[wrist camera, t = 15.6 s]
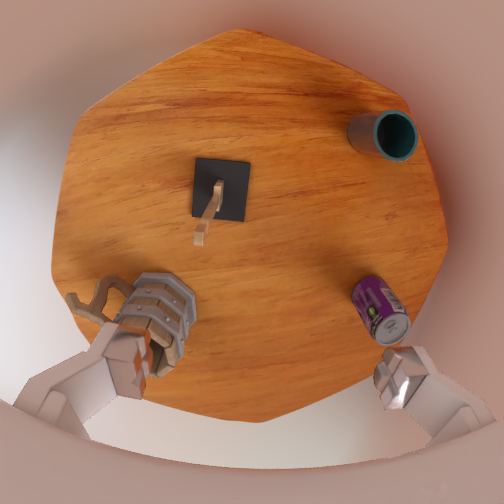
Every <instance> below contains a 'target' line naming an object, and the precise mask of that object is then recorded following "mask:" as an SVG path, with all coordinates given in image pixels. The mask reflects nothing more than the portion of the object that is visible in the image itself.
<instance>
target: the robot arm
mask: <svg viewBox="0 0 504 504" xmlns="http://www.w3.org/2000/svg"><path fill="white" fill-rule="evenodd" d="M150 341H151V335H150V331H149V330H147V329H142V328H137V327H132V326H127V325H123V324H117V323H112V322H106V323H104V325H103V326H102V328H101V330H100V331H99V333H98V335H97V336H96V338H95V339H94V341H93V343H92V344H91V346H90V348H89V350H88V351H87V352H81V353H79V354H77V355H75V356H73V357H71V358H69V359H67V360H65V361H63V362H61V363H59V364H57V365H55V366H53V367H51V368H49V369H47V370H45V371H43V372H42V373H40V374H38V375H36V376H34V377H32V378H30V379H29V380H28V382H27V383H26V385H25V386H24V388H23V389H22V391H21V393H20V394H19V396H18V398H17V399H16V401H15V403H14V404H13V406H12V405H10V404H8V403H6V402H5V401H3V400H1V399H0V504H504V418H502V419H500V420H498V421H496V420H495V418H494V416H493V415H492V413H491V411H490V409H489V408H488V406H487V404H486V403H485V401H484V400H483V399H482V398H480V397H479V396H477V395H476V394H474V393H472V392H471V391H469V390H468V389H467V388H465V387H463V386H462V385H460V384H459V383H457V382H456V381H454V380H453V379H451V378H450V377H448V376H447V375H445V374H443V373H439V371H438V369H437V368H436V366H435V365H434V363H433V361H432V360H431V358H430V357H429V355H428V354H427V352H426V351H425V349H424V347H422V346H421V345H418V346H406V347H388V348H386V349H385V350H384V352H383V354H382V357H383V360H382V361H381V362H379V363H378V364H377V366H376V368H375V370H374V376H373V379H374V384H375V387H376V388H377V389H378V390H379V391H380V392H381V394H380V399H381V402H382V404H383V407H384V410H393V409H401V408H404V409H403V410H405V411H406V412H407V413H408V414H409V415H410V416H411V417H412V418H413V419H414V420H415V421H416V422H417V423H418V424H419V425H420V426H421V427H422V428H423V429H424V430H425V431H426V432H427V433H428V434H429V435H430V436H431V437H433V439H432V440H431V441H430V442H429V443H428V444H427V445H426V446H425V448H423V449H419V450H416V451H412V452H408V453H404V454H400V455H396V456H391V457H386V458H381V459H376V460H370V461H365V462H359V463H352V464H344V465H336V466H326V467H316V468H315V467H314V468H298V469H247V468H229V467H217V466H208V465H200V464H192V463H185V462H179V461H173V460H167V459H162V458H157V457H152V456H148V455H143V454H139V453H135V452H131V451H127V450H123V449H119V448H116V447H112V446H109V445H106V444H102V443H99V442H96V441H93V440H91V439H90V437H89V435H88V433H87V432H86V430H85V428H84V427H83V425H82V424H83V423H85V422H86V421H87V420H88V419H90V418H91V417H92V416H94V415H95V414H96V413H97V412H98V411H100V410H101V409H102V408H103V407H105V406H106V405H107V404H108V403H110V402H111V401H112V400H113V399H115V398H116V397H117V395H120V396H124V397H129V398H134V399H139V400H141V399H142V396H143V393H144V390H145V387H146V382H145V378H146V377H148V376H149V375H150V372H151V369H152V362H153V352H152V348H151V347H150V346H149V343H150Z"/></svg>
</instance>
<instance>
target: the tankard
mask: <svg viewBox="0 0 504 504" xmlns="http://www.w3.org/2000/svg"><path fill="white" fill-rule="evenodd" d="M110 287H115V288H117V289H118V290H120V291H121V292H122V293H123V294H124V295H125V296H126V302H125V303H124V304H123V306H122V307H121V309H120V313H119V314H116V318H115V319H114V320H113V321H112V320H110V319H109V318H108V317H106V316H105V315H104V314H103V313H101V312H102V310H103V308H104V306H105V304H106V302H107V295H108V289H109V288H110ZM65 299H66V301H67V304H68V306H69V308H70V310H71V312H72V313H74V314H77V315H79V316H82V317H84V318H87V319H89V320H91V321H93V322H95V323H97V324H98V325H99V326H101V327H102V326H103V325H104V323H106V322H112V323H117V324H123V325H127V326H132V327H137V328H142V329H147V330H149V331H150V335H151V341H150V343H149V346H150V347H151V348H152V352H153V362H152V369H151V372H150V375H149V376H148V377H153V378H159V377H160V378H161V377H162V376H164V375H165V374H167V373H168V372H169V371H171V370H172V369H173V368H175V366H176V362H177V361H178V360H179V359H181V358H182V357H183V353H184V349H185V348H184V340H185V339H186V338H187V337H188V333H189V327H190V326H191V325H192V324H193V323H194V322H196V319H197V312H196V302H195V292H193V291H192V290H191V289H190V288H189V287H187V286H186V285H185V284H184V283H183V282H182V281H180V280H179V279H178V278H177V277H176V276H175V275H173V274H172V273H150V272H143V273H142V274H141V275H140V277H139V278H138V279H137V280H136V281H135V282H134V283H133V285H132V286H130V285H129V284H128V283H127V282H126V281H125V280H123V279H122V278H121V277H119V276H118V275H116V274H110V275H104V276H103V277H102V278H101V279H100V280H99V281H98V282H97V284H96V286H95V291H94V297H93V299H92V301H91V303H90V305H87V304H84V303H81V302H80V301H79V299H78V297H77V294H76V293H75V292H74V293H67V295H66V297H65Z"/></svg>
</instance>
